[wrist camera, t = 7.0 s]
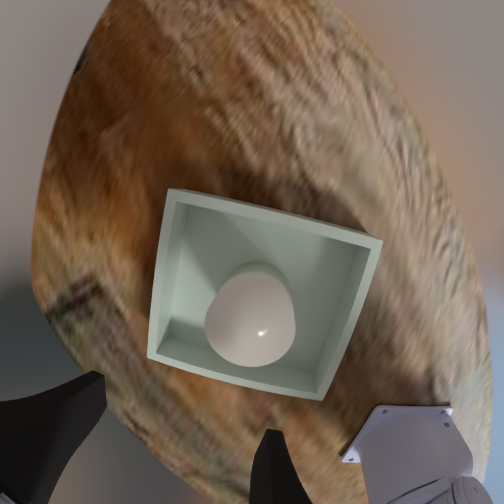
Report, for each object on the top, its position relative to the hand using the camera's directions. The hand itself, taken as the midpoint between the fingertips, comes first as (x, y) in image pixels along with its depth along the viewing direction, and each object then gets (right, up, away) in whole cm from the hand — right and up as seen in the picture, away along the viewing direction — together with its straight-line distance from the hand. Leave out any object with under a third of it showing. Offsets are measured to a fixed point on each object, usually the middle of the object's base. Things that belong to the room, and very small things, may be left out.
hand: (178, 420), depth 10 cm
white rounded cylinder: (+3, +4, +8) cm, 10 cm away
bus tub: (+3, +4, +9) cm, 10 cm away
